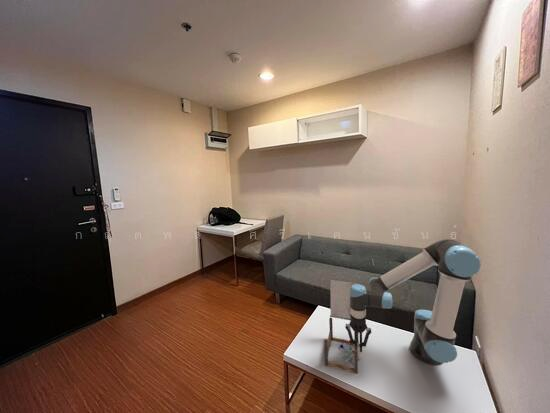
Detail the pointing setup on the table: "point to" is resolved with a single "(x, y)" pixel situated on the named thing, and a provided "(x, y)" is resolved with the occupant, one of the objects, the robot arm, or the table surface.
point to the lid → (340, 299)
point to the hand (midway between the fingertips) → (358, 356)
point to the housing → (330, 338)
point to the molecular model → (347, 352)
